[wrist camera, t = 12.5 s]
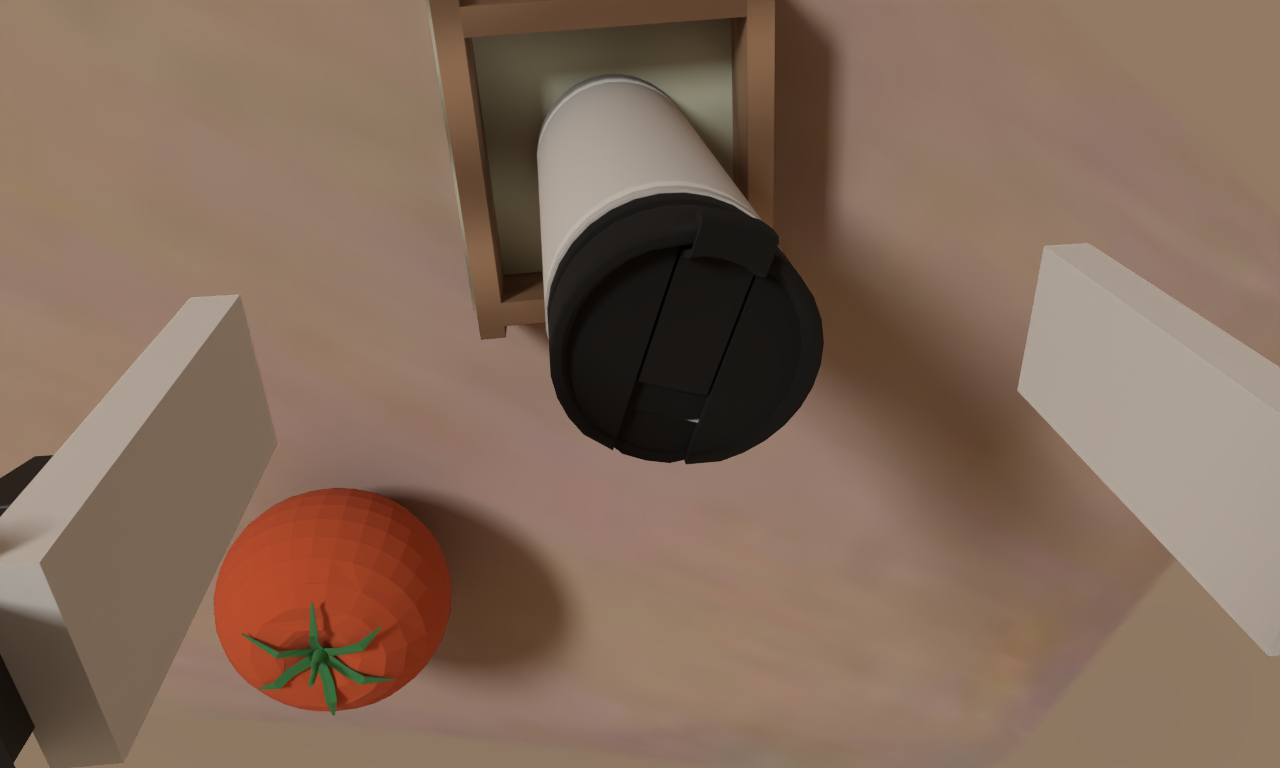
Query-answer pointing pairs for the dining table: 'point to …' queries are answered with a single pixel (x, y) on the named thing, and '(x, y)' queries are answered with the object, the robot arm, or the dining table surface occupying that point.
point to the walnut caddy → (548, 67)
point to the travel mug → (663, 284)
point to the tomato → (332, 600)
